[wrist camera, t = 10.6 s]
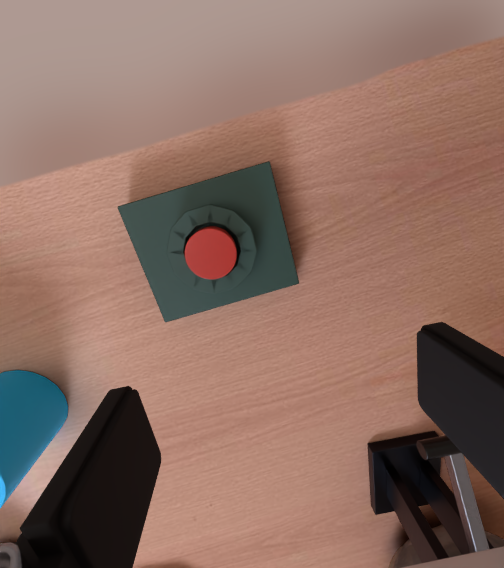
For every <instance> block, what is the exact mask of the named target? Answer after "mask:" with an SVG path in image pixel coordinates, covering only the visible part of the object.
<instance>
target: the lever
mask: <svg viewBox="0 0 504 568" xmlns="http://www.w3.org/2000/svg"><path fill="white" fill-rule="evenodd" d="M417 449H418V451H419V453H420V455H421V456H422V458H423V459H424V460H431V459H436V458H441V457H444V458H445V461H446V465H447V469H448V473H449V476H450V480H451V484H452V487H453V491H454V495H455V499H456V502H457V506H458V510H459V513H460V517H461V521H462V525H463V528H464V532H465V536H466V540H467V543H468V547H469V551H470V553H474V552H479V551H484V550H489V546H488V542H487V539H486V535H485V532H484V528H483V524H482V521H481V517H480V514H479V510H478V507H477V503H476V499H475V496H474V492H473V489H472V485H471V481H470V478H469V474H468V471H467V467H466V463H465V460H464V456H463V454H462V452H461V451H460V450H459V449H458V448H457V447H456V446H455V445H454V444H453V443H452V441H451V440H450V439H449V438H448V437H447V436H446V435H444V436H439V437H434V438H429V439H423V440H418V441H417Z"/></svg>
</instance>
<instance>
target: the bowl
mask: <svg viewBox="0 0 504 568" xmlns="http://www.w3.org/2000/svg"><path fill="white" fill-rule="evenodd" d="M432 530H433V531H434V533H435V535H436V536H437V538H438V540H439V541H440V543H441V545H442V546H443V548H444V549H445V551H446V553H447V554H448V556H449V558H450V557H455V556H460V555H462V554H461V553H460V551H459V549H458V548H457V546H456V545H455V543H454V542H453V540H452V539H451V537H450V536H449V534H448V532H447V531H446V529H445V528H444V526H443V525H440V526H437V527H434V528H432ZM484 532H485V535H486V538H487V539H488V540H489V542H490V543H491V544H492V546H493V547H494V548H499V547H504V540H503V539H502V538H500V537H498V536H496V535H494V534H492V533H489V532H487V531H484ZM421 563H422V562H421V560H420V558H419V556H418V554H417V553H416V551H415V549H414V547H413V545H412V543H411V541H410V539H409V540H408V541H407V542H406V543H405V544H404V545H403V546H402V547H400V548H399V549H398V550H397V551H396V553H395V555H394V557H393V559H392V560H391V562H390V565H389V568H402V567H407V566H412V565H416V564H421Z"/></svg>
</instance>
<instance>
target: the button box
mask: <svg viewBox="0 0 504 568" xmlns="http://www.w3.org/2000/svg"><path fill="white" fill-rule="evenodd" d="M118 210H119V212H120V214H121V217H122V219H123V222H124V224H125V227H126V229H127V231H128V234H129V236H130V239H131V241H132V243H133V246H134V248H135V251H136V253H137V255H138V258H139V260H140V263H141V265H142V268H143V270H144V272H145V275H146V277H147V280H148V282H149V284H150V287H151V289H152V292H153V294H154V296H155V299H156V301H157V304H158V306H159V309H160V311H161V313H162V316H163V318H164V321H165V322H169V321H172V320H175V319H179V318H182V317H186V316H189V315H193V314H196V313H199V312H203V311H206V310H210V309H213V308H217V307H220V306H224V305H227V304H230V303H234V302H237V301H241V300H244V299H248V298H251V297H254V296H258V295H261V294H265V293H268V292H272V291H275V290H278V289H282V288H285V287H289V286H292V285H296V284H299V280H298V276H297V272H296V268H295V264H294V260H293V256H292V251H291V247H290V243H289V239H288V235H287V231H286V227H285V223H284V218H283V214H282V210H281V206H280V202H279V198H278V194H277V190H276V186H275V181H274V177H273V173H272V169H271V165H270V162H269V161H268V162H265V163H262V164H258V165H255V166H252V167H248V168H245V169H242V170H238V171H235V172H232V173H228V174H225V175H222V176H218V177H215V178H212V179H208V180H205V181H202V182H198V183H195V184H192V185H188V186H185V187H181V188H178V189H175V190H171V191H168V192H165V193H161V194H158V195H155V196H151V197H148V198H145V199H141V200H138V201H135V202H131V203H128V204H125V205H121V206H118ZM209 226H215V227H219V228H222V229H224V230H225V231H227V232H228V233H229V234H230V235H231V236H232V238H233V239H234V241H235V244H236V251H237V258H236V262H235V265H234V267H233V268H232V270H231V271H230V272H229V273H228V274H227V275H225V276H223V277H221V278H218V279H205V278H202V277H199V276H198V275H196V274H195V273H194V272H192V271H191V269H190V268H189V266H188V265H187V262H186V259H185V247H186V244H187V242H188V240H189V239H190V237H191V236H192V235H193V234H194V233H196V232H197V231H198V230H200V229H202V228H204V227H209Z"/></svg>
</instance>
